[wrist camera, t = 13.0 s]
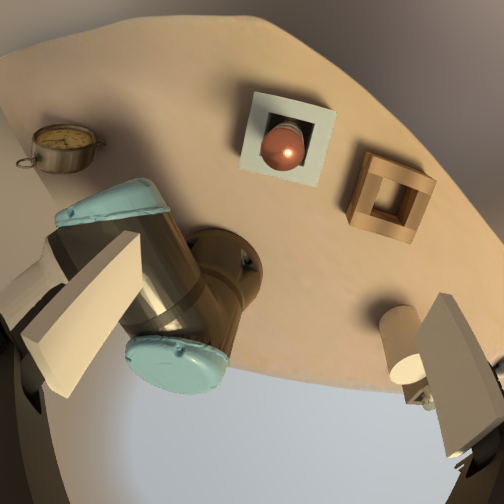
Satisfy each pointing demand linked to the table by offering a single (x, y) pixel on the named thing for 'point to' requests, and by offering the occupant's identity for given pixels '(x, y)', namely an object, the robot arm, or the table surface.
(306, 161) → the frame
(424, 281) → the table surface
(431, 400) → the headphones
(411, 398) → the box
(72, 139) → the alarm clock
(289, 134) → the pin
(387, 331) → the cream cylinder
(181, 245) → the robot arm
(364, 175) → the mount
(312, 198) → the table surface
